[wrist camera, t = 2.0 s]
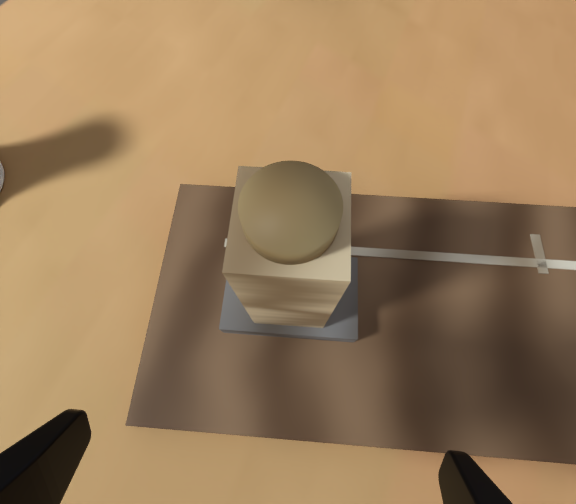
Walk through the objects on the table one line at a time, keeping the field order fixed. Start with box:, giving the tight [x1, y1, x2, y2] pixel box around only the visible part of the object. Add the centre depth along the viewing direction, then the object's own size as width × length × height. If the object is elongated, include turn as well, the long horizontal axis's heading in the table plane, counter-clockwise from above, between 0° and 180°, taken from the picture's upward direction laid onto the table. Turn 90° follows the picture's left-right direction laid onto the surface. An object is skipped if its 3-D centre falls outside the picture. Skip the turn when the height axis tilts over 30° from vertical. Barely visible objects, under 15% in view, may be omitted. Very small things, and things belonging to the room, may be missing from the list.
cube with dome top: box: [219, 161, 358, 342], centre depth 16 cm, size 8×5×12 cm, turn 86°
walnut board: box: [126, 184, 576, 464], centre depth 21 cm, size 34×16×1 cm, turn 86°
